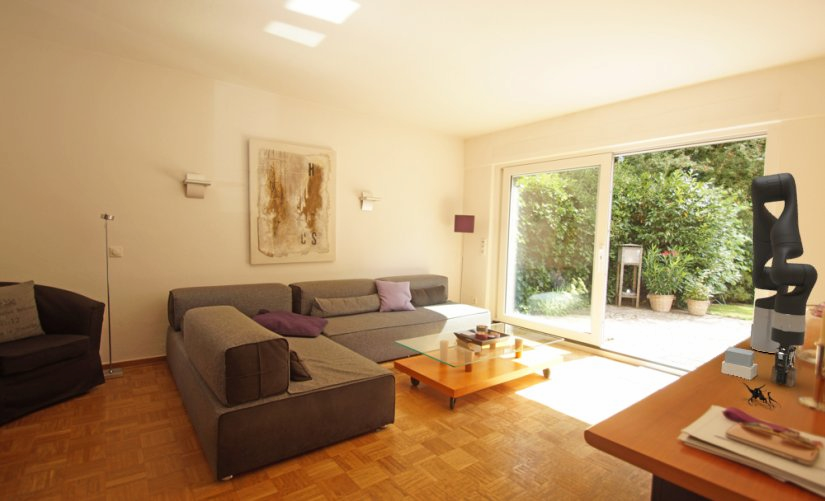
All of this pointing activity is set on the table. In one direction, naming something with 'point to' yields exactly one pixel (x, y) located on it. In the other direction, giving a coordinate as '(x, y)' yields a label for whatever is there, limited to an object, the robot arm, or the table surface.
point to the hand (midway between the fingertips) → (783, 381)
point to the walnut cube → (790, 376)
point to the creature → (760, 395)
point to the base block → (739, 370)
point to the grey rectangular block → (739, 356)
